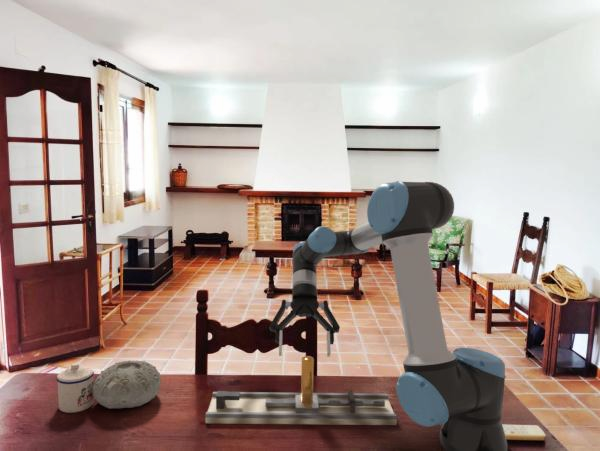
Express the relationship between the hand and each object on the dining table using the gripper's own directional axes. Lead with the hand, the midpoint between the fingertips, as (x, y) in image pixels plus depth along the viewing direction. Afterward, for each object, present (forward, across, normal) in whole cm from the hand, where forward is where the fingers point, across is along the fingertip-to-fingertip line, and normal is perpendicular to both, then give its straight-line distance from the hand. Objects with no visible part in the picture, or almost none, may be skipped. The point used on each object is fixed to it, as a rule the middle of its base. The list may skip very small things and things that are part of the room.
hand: (304, 354), depth 132 cm
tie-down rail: (+14, +1, -5) cm, 15 cm away
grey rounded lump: (+11, +49, -8) cm, 51 cm away
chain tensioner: (+13, -6, -3) cm, 15 cm away
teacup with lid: (+12, +62, -7) cm, 63 cm away
